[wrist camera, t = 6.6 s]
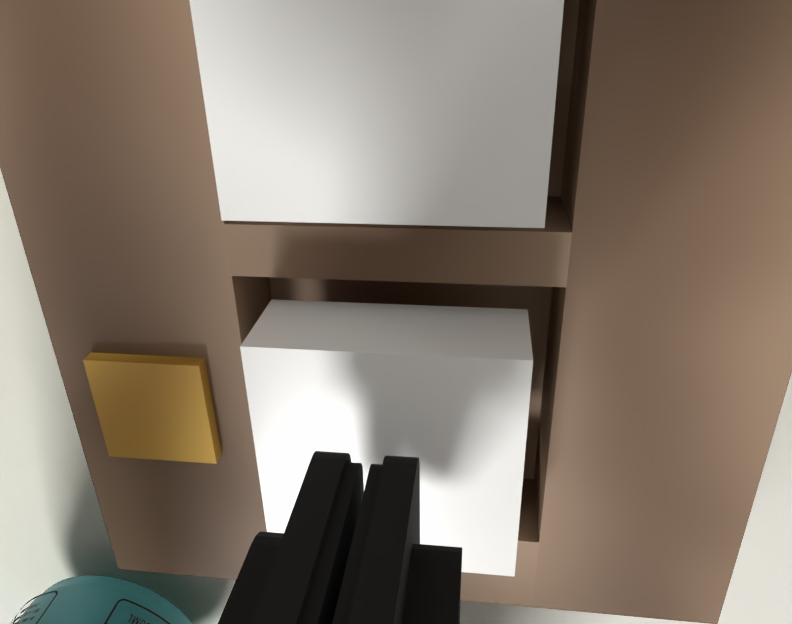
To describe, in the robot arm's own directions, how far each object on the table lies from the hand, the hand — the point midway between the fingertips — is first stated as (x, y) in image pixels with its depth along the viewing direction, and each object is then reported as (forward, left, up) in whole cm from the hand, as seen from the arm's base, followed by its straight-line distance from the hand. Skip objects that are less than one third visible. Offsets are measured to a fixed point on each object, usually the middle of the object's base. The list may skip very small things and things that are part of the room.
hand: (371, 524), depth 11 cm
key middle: (0, -7, -3) cm, 8 cm away
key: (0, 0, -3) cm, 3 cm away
